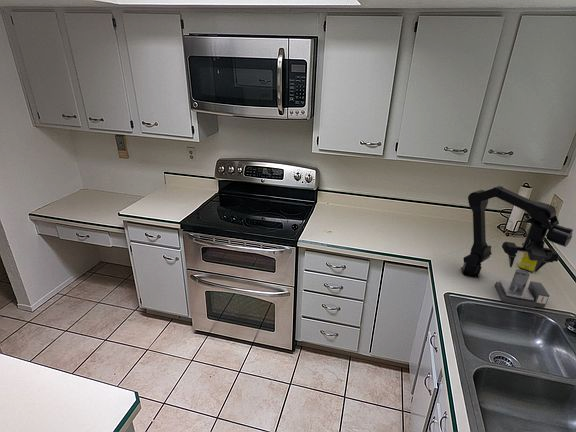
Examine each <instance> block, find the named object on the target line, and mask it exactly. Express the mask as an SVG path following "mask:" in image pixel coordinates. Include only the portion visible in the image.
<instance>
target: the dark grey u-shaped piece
mask: <svg viewBox="0 0 576 432" xmlns="http://www.w3.org/2000/svg"><path fill="white" fill-rule="evenodd" d="M494 287H495V289H496V292H497V293H498V296H499V298H500V300H501V302H502V303H507V304H512V305H517V306H521V307H528V308H533V309H535V308H536V307H539V308H545V307H546V304H547V302H548V300H549V298H550V294H549V292H548V291H547V290H546V288H545V286H544V285H543V284H542V282H538V281H532V280H530V282H529V284H528V285H527V287H528V289H529V291H530V292H531V294H532V296H533V297H534V300H528V299H523V298H517V297H511V296H506V294H505V292H504V290H503V288H502V286H501V284H500V281H495V284H494Z"/></svg>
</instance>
